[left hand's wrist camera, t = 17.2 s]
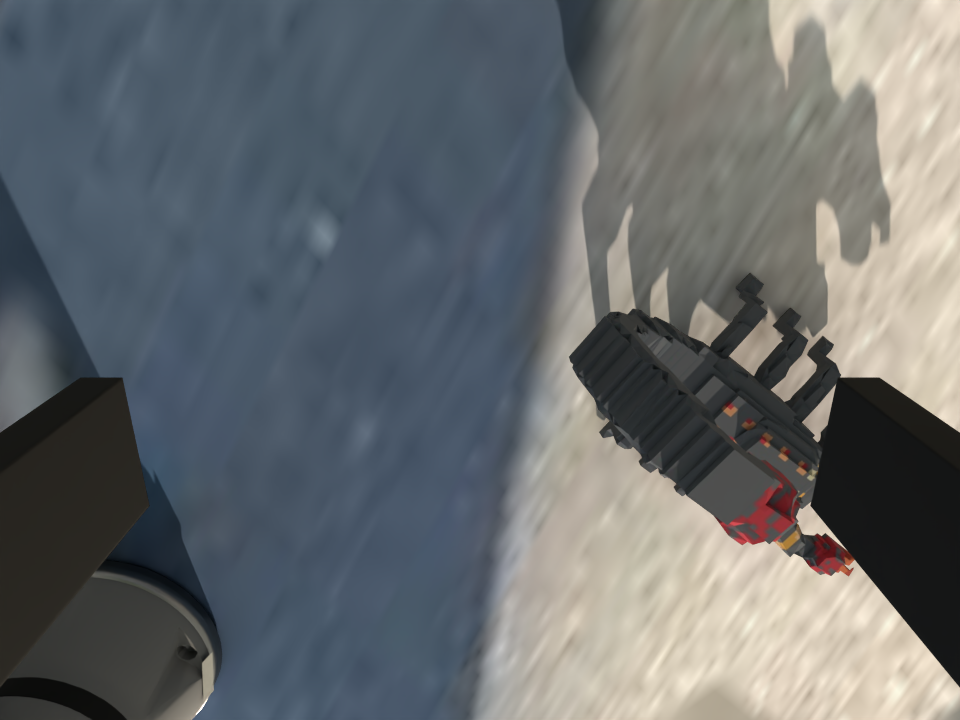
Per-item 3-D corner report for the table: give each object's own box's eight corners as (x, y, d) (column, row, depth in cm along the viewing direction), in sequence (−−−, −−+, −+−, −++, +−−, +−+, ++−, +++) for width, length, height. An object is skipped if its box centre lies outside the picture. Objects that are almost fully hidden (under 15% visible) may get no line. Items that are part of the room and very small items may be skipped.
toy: (637, 175, 37) (772, 237, 20) (939, 436, 43) (1242, 656, 26) (490, 352, 41) (497, 529, 24) (786, 569, 47) (961, 836, 30)
